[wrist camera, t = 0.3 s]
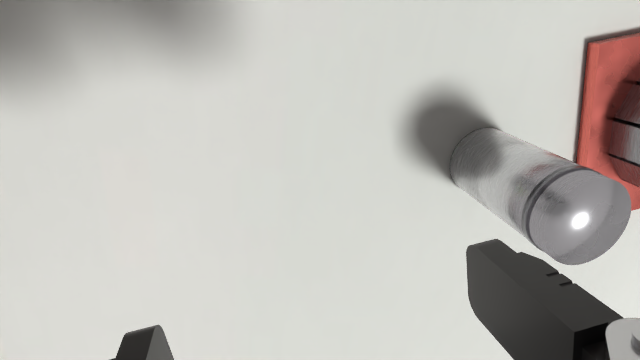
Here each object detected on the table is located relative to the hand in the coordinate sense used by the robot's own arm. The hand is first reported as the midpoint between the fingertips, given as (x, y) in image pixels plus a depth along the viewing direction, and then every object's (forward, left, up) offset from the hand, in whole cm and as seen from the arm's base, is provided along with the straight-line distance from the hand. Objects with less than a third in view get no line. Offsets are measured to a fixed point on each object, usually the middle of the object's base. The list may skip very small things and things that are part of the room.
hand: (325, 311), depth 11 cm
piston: (+5, +15, -18) cm, 24 cm away
